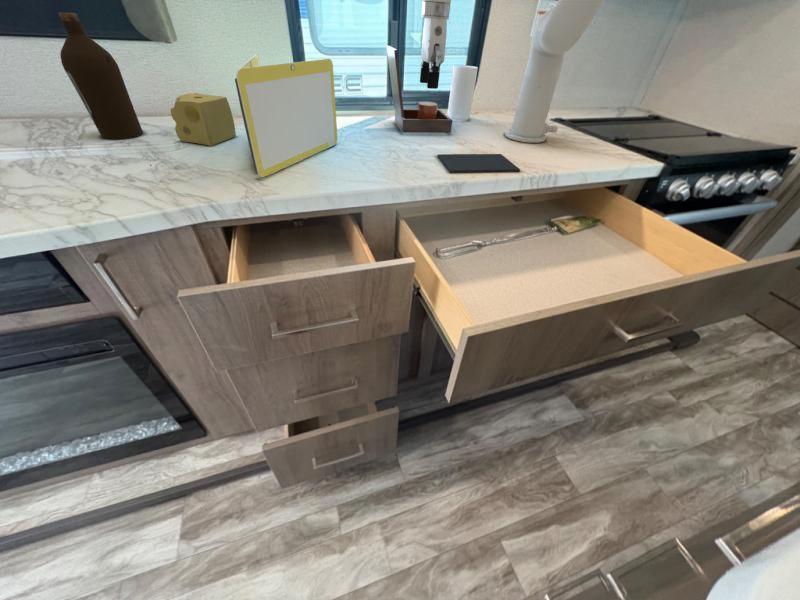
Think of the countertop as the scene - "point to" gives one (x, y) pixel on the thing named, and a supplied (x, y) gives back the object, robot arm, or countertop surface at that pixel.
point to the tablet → (287, 111)
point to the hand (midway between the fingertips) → (428, 85)
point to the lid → (395, 80)
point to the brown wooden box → (423, 122)
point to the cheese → (203, 119)
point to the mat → (477, 163)
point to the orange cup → (427, 110)
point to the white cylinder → (461, 91)
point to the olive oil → (98, 82)
